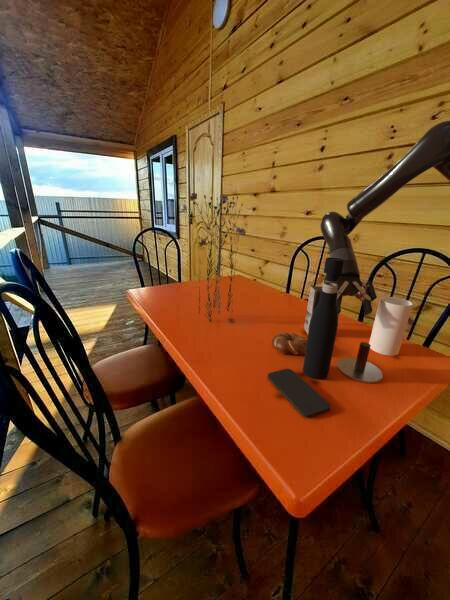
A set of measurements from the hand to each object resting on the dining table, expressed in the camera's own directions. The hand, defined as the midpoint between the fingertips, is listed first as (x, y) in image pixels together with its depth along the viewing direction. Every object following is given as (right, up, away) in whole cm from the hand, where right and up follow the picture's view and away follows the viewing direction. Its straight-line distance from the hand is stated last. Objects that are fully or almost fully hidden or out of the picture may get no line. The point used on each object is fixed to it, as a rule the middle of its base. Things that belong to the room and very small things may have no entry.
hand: (353, 313), depth 72 cm
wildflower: (-40, -3, +27) cm, 48 cm away
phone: (-20, -18, -13) cm, 30 cm away
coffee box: (-4, -8, +17) cm, 19 cm away
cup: (+13, -12, +8) cm, 19 cm away
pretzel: (-16, -11, +6) cm, 21 cm away
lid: (-1, -15, -4) cm, 16 cm away
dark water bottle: (-13, -15, -5) cm, 21 cm away
